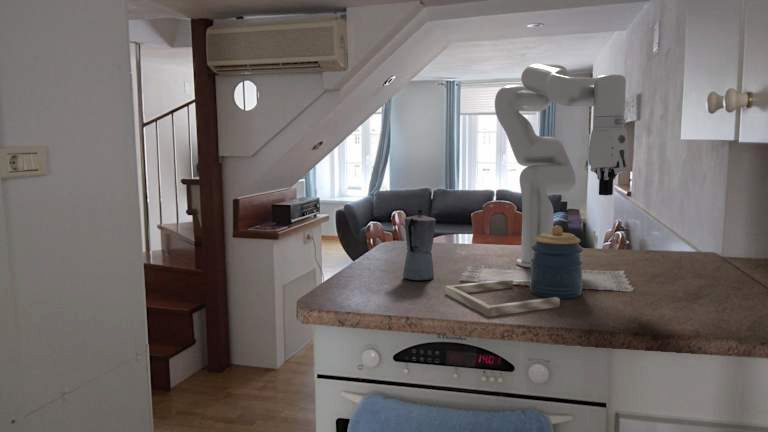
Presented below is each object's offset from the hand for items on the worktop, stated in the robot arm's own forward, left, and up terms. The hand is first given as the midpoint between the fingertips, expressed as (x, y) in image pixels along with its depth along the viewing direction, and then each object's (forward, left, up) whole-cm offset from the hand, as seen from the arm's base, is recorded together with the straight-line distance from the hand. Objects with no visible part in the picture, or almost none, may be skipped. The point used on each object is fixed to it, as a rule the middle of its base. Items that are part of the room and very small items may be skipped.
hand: (605, 194), depth 147 cm
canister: (+15, 0, -25) cm, 29 cm away
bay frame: (+31, 0, -25) cm, 40 cm away
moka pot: (+41, -28, -25) cm, 56 cm away
